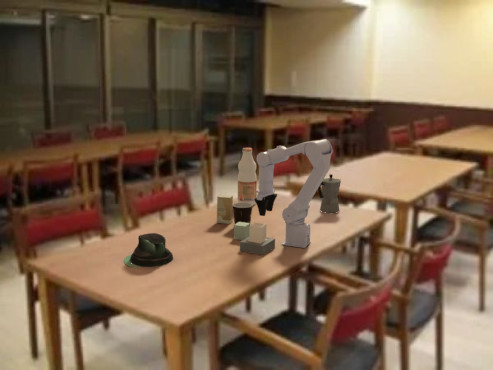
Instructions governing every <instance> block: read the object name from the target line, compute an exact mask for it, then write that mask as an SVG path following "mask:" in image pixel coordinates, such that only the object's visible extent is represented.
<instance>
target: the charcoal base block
mask: <svg viewBox="0 0 493 370" xmlns="http://www.w3.org/2000/svg"><path fill="white" fill-rule="evenodd" d="M275 248H276V238H273V237H268V236H266V240H264V241H263V242H262V243H260V242H253V241H249V237H248V238H246V239H244V240H240V242H239V251H240V252H245V253H250V254H254V253H255V255H259V254H260V256H264V255H266V254H267V253H269V252H270V251H272V250H273V249H275ZM271 249H272V250H271ZM268 251H269V252H268ZM265 253H266V254H265Z"/></svg>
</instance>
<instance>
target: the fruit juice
mask: <svg viewBox="0 0 493 370" xmlns="http://www.w3.org/2000/svg"><path fill="white" fill-rule="evenodd" d="M241 151H242V155H241V159H240V160H239V162H238V164H237V167H238V169H237V170H238V175H237V203H250V204H252V205H253V206H254V205H257V204H256V202H255V198H257V194H258V193H257V192H256V191H257V190H258V189H257V184H258V183H257V182H258V181H257V180H258V179H257V178H258V175H257V173H256V170H257V162H256V161H255V160H254V157H253V153H252V152H253V148H252V147H243V148H242V149H241Z"/></svg>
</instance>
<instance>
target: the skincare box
mask: <svg viewBox="0 0 493 370" xmlns="http://www.w3.org/2000/svg"><path fill="white" fill-rule="evenodd" d="M216 200H217V201H216V223H217V224H225V225H230V224H231V223H232V222H233V204H234V195H228V194H219V195H217V199H216Z"/></svg>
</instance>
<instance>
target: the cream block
mask: <svg viewBox="0 0 493 370" xmlns="http://www.w3.org/2000/svg"><path fill="white" fill-rule="evenodd" d="M266 237H267V223H260V222H253V223H252V224H250V234H249V241H253V242H260V243H262V242H263V241H264V240H266Z"/></svg>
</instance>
